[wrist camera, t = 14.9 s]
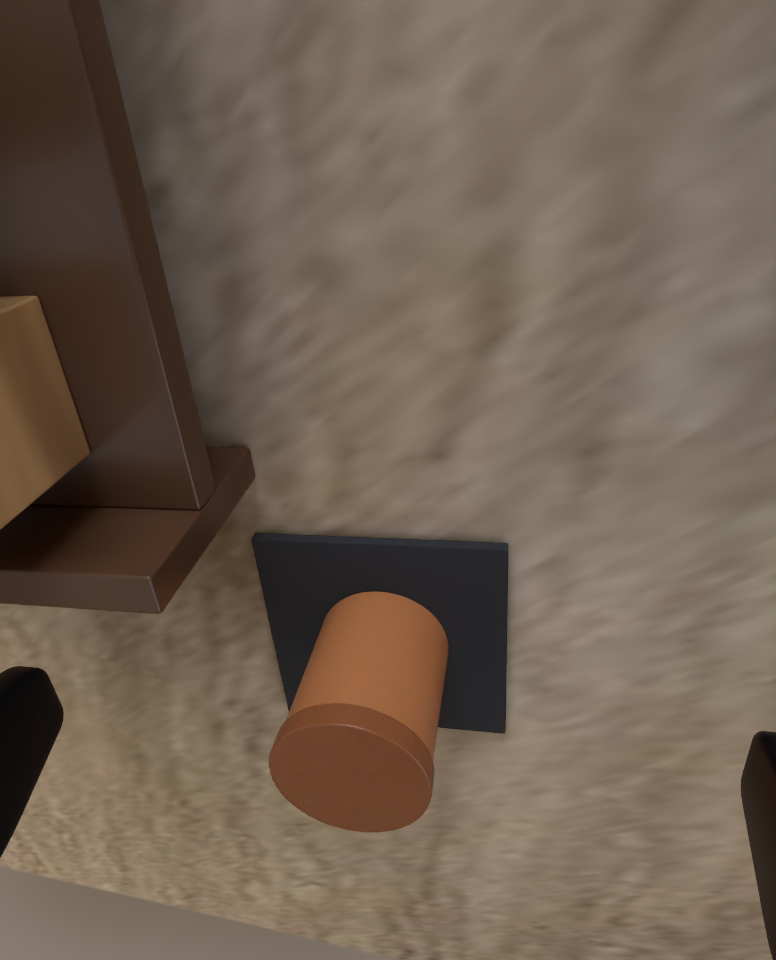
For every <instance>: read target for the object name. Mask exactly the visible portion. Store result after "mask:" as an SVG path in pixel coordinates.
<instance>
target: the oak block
mask: <svg viewBox="0 0 776 960" xmlns="http://www.w3.org/2000/svg"><path fill="white" fill-rule="evenodd" d="M89 454H90V449H89V446H88V443H87V440H86V437H85V434H84V431H83V428H82V425H81V422H80V419H79V416H78V413H77V411H76V408H75V405H74V402H73V399H72V396H71V393H70V390H69V387H68V384H67V381H66V378H65V375H64V372H63V369H62V366H61V363H60V360H59V357H58V354H57V351H56V348H55V345H54V342H53V339H52V336H51V333H50V330H49V328H48V325H47V322H46V319H45V316H44V313H43V310H42V307H41V304H40V301H39V298H38V297H37V296H5V297H0V530H1V529H2V528H3V527H4V526H5V525H7V524H8V523H9V522H10V521H11V520H12V519H14V518H15V517H16V516H17V515H18V514H20V513H21V512H22V511H23V510H24V509H26V508H27V507H28V506H29V505H30V504H31V503H33V502H34V501H35V500H36V499H37V498H39V497H40V496H41V495H42V494H43V493H44V492H46V491H47V490H48V489H49V488H50V487H52V486H53V485H54V484H55V483H56V482H57V481H59V480H60V479H61V478H62V477H63V476H65V475H66V474H67V473H68V472H69V471H70V470H72V469H73V468H74V467H75V466H76V465H78V464H79V463H80V462H81V461H82V460H83V459H85V458H86V457H87V456H88V455H89Z"/></svg>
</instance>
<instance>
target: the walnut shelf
mask: <svg viewBox="0 0 776 960" xmlns="http://www.w3.org/2000/svg"><path fill="white" fill-rule="evenodd" d="M5 296H37V297H38V298H39V301H40V304H41V307H42V310H43V313H44V316H45V319H46V322H47V325H48V328H49V330H50V333H51V336H52V339H53V342H54V345H55V348H56V351H57V354H58V357H59V360H60V363H61V366H62V369H63V372H64V375H65V378H66V381H67V384H68V387H69V390H70V393H71V396H72V399H73V402H74V405H75V408H76V411H77V413H78V416H79V419H80V422H81V425H82V428H83V431H84V434H85V437H86V440H87V443H88V446H89V449H90V454H89V455H88V456H87V457H86V458H85V459H83V460H82V461H81V462H80V463H79V464H78V465H76V466H75V467H74V468H73V469H72V470H70V471H69V472H68V473H67V474H66V475H65V476H63V477H62V478H61V479H60V480H59V481H57V482H56V483H55V484H54V485H53V486H52V487H50V488H49V489H48V490H47V491H46V492H44V493H43V494H42V495H41V496H40V497H39V498H37V499H36V500H35V501H34V502H33V503H31V504H30V505H29V506H28V507H27V508H26V509H24V510H23V511H22V512H21V513H20V514H18V515H17V516H16V517H15V518H14V519H12V520H11V521H10V522H9V523H8V524H7V525H5V526H4V527H3V528H2V529H1V530H0V603H4V604H19V605H34V606H49V607H64V608H79V609H94V610H109V611H124V612H139V613H154V614H159V613H162V612H163V610H164V609H165V607H166V606H167V604H168V603H169V601H170V600H171V599H172V597H173V596H174V594H175V593H176V591H177V590H178V588H179V587H180V586H181V584H182V583H183V581H184V580H185V578H186V577H187V575H188V574H189V573H190V571H191V570H192V568H193V567H194V565H195V564H196V562H197V561H198V560H199V558H200V557H201V555H202V554H203V552H204V551H205V549H206V548H207V547H208V545H209V544H210V542H211V541H212V539H213V538H214V536H215V535H216V534H217V532H218V531H219V529H220V528H221V526H222V525H223V523H224V522H225V521H226V519H227V518H228V516H229V515H230V513H231V512H232V510H233V509H234V508H235V506H236V505H237V503H238V502H239V500H240V499H241V497H242V496H243V495H244V493H245V492H246V490H247V489H248V487H249V486H250V484H251V483H252V482H253V480H254V479H255V473H254V468H253V463H252V458H251V453H250V449H249V448H246V447H206V446H205V442H204V438H203V433H202V429H201V425H200V421H199V417H198V412H197V408H196V404H195V400H194V396H193V392H192V387H191V383H190V379H189V375H188V371H187V367H186V362H185V358H184V354H183V350H182V346H181V341H180V337H179V333H178V329H177V325H176V321H175V316H174V312H173V308H172V304H171V300H170V295H169V291H168V287H167V283H166V279H165V275H164V270H163V266H162V262H161V258H160V254H159V250H158V245H157V241H156V237H155V233H154V229H153V224H152V220H151V216H150V212H149V208H148V204H147V199H146V195H145V191H144V187H143V183H142V179H141V174H140V170H139V166H138V162H137V158H136V153H135V149H134V145H133V141H132V137H131V133H130V128H129V124H128V120H127V116H126V112H125V108H124V103H123V99H122V95H121V91H120V87H119V82H118V78H117V74H116V70H115V66H114V62H113V57H112V53H111V49H110V45H109V41H108V37H107V32H106V28H105V24H104V20H103V16H102V11H101V7H100V3H99V0H0V297H5Z"/></svg>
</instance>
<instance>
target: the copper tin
mask: <svg viewBox="0 0 776 960" xmlns="http://www.w3.org/2000/svg"><path fill="white" fill-rule="evenodd" d="M447 658H448V640H447V637H446V634H445V631H444V629H443V627H442V626H441V624H440V623H439V621H438V620H437V619H436V617H435V616H434V615H433V614H432V613H431V612H429V611H428V610H427V609H426V608H424V607H423V606H422V605H420V604H418V603H417V602H415V601H413V600H411V599H409V598H406V597H404V596H400V595H397V594H393V593H388V592H375V591H371V592H362V593H358V594H354V595H351V596H348V597H346V598H344V599H343V600H341V601H340V602H338V603H337V604H335V605H334V606H333V607H332V608H331V609H330V611H329V612H328V614H327V615H326V617H325V619H324V622H323V625H322V627H321V630H320V633H319V635H318V638H317V640H316V643H315V646H314V648H313V651H312V654H311V656H310V659H309V661H308V664H307V667H306V669H305V672H304V675H303V677H302V680H301V683H300V685H299V688H298V690H297V693H296V696H295V698H294V701H293V704H292V706H291V709H290V712H289V714H288V717H287V719H286V721H285V722H284V723H283V725H282V726H281V728H280V730H279V732H278V734H277V737H276V739H275V742H274V744H273V747H272V750H271V753H270V757H269V768H270V773H271V776H272V779H273V781H274V783H275V785H276V787H277V788H278V789H279V791H280V792H281V793H282V795H283V796H284V797H285V798H286V799H287V800H288V801H289V802H290V803H292V804H293V805H294V806H295V807H297V808H298V809H299V810H301V811H302V812H304V813H306V814H307V815H309V816H311V817H313V818H315V819H317V820H319V821H321V822H324V823H326V824H329V825H332V826H335V827H338V828H342V829H346V830H352V831H359V832H385V831H391V830H396V829H399V828H402V827H405V826H407V825H409V824H411V823H413V822H414V821H416V820H417V819H418V818H420V817H421V816H422V815H423V813H424V812H425V811H426V810H427V808H428V806H429V804H430V801H431V797H432V789H433V782H434V763H433V758H434V751H435V744H436V736H437V729H438V722H439V715H440V708H441V701H442V693H443V686H444V679H445V672H446V665H447Z"/></svg>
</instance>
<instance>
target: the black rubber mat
mask: <svg viewBox="0 0 776 960" xmlns="http://www.w3.org/2000/svg"><path fill="white" fill-rule="evenodd" d="M252 544H253V548H254V553H255V558H256V562H257V567H258V571H259V576H260V581H261V585H262V590H263V594H264V599H265V603H266V608H267V613H268V617H269V622H270V626H271V631H272V636H273V640H274V645H275V649H276V654H277V659H278V663H279V668H280V672H281V677H282V681H283V686H284V691H285V695H286V700H287V704H288V709H289V712H290V709H291V706H292V704H293V701H294V698H295V696H296V693H297V690H298V688H299V685H300V683H301V680H302V677H303V675H304V672H305V669H306V667H307V664H308V661H309V659H310V656H311V654H312V651H313V648H314V646H315V643H316V640H317V638H318V635H319V633H320V630H321V627H322V625H323V622H324V619H325V617H326V615H327V614H328V612H329V611H330V609H331V608H332V607H333V606H334V605H335V604H337V603H338V602H340V601H341V600H343V599H344V598H346V597H348V596H351V595H354V594H358V593H362V592H371V591H375V592H388V593H393V594H397V595H400V596H404V597H406V598H409V599H411V600H413V601H415V602H417V603H418V604H420V605H422V606H423V607H424V608H426V609H427V610H428V611H429V612H431V613H432V614H433V615H434V616H435V617H436V619H437V620H438V621H439V623H440V624H441V626H442V627H443V629H444V631H445V634H446V637H447V640H448V658H447V665H446V672H445V679H444V686H443V693H442V701H441V708H440V715H439V722H438V727H440V728H450V729H461V730H472V731H482V732H493V733H503V734H504V733H505V728H506V664H507V598H508V544H507V543H487V542H462V541H437V540H412V539H387V538H363V537H338V536H313V535H288V534H263V533H255V534H254V536H253V537H252Z"/></svg>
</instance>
